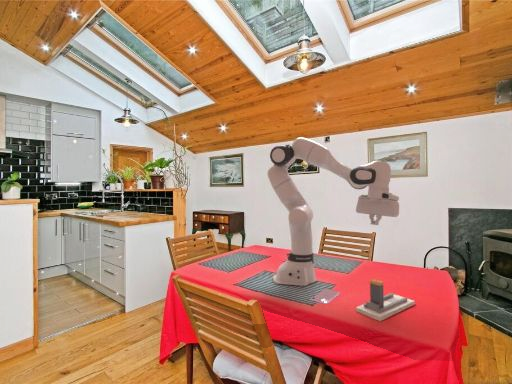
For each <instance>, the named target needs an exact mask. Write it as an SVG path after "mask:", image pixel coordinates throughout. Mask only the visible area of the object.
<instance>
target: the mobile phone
mask: <svg viewBox="0 0 512 384" xmlns="http://www.w3.org/2000/svg"><path fill="white" fill-rule="evenodd" d="M340 294H341V293H340V292H339V291H337V290H332V289H328V288H324V289H322V290H321V291H319V292H318V293H317V294H316V295H314V296H312V297H311V298H310V301H313V302H317V303H320V304H326V305H327V304H328V303H330V302H332V301H333V300H334V299H335V298H336V297H337V296H339V295H340Z"/></svg>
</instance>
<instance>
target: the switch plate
mask: <svg viewBox="0 0 512 384" xmlns="http://www.w3.org/2000/svg"><path fill="white" fill-rule="evenodd" d="M383 296H384V307H382V308H380V305H378V304H376V303H373V302H370V300H368V301H366V302H365V303H362V304H361V305H358V306H356V307H355V312H357V313H359V314H362V315H364V316H366V317H369V318H371V319H373V320H376V321H378V322H382V321H383V320H386V319H388V318H389V317H391V316H394V315H396V314H398V313H400V312H402V311H404V310H406V309H408V308H410V307H412V306H415V303H416V301H415V300H413V299H410V298H408V297H406V296H405V297H404V296H401V295H398V294H394V293H393V292H389V293H387V294H385V295H383Z"/></svg>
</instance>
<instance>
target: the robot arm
mask: <svg viewBox="0 0 512 384" xmlns="http://www.w3.org/2000/svg"><path fill="white" fill-rule="evenodd" d="M269 153H270V154H269V158H270V161H271V162H272V163H273V165H272V166H271V167H270V168H269V169H268V171H267V178H268V181H269V182H270V184H271V187H272V189H273V190H274V192H275V194H276V196H277V197H278V199H279V201H280V203H281V204H282V205H283V206H284V208H286V210H287V211H288V226H289V233H290V242H291V244H290V245H291V248H290V249H291V252H290V251H287V252H286V256H287V260H285V261H284V262H283V263H281V264H280V265H279V267H278V268H277V271H276V273H275V274H273V278H272V281H273V282H274V284H276V285H278V284H279V285H287V286H289V285H291V286H293V285H294V286H302V287H303V286H305V287H307V286H308V285H310V284H313V283H315V282H316V281H317V277H316V274H315V273H316V272H315V268H314V264H315V255H314V252H313V251H314V250H313V249H314V248H313V245H314V243H313V233H312V232H313V231H312V220H313V218H314V212H313V210H312V208H311V206H310V204H308V202H307V200H306V199H305V198H304V197H303V195H302V194H301V192H300V191H299V189H298V187H297V185H296V184H295V182H294V181H293V179H292V177H291V176H290V174H289V171H288V170H290V169H291V168H292V166H293V165H294V164H295V163H296V161H297V159H298V160H302V161H303V162H305V163H308V164H310V165H311V166H314V167H317V168H321V169H324V170H327V171H329V172H331V173H333V174H334V175H337V176H339V177H340V178H341V179H344V180H345V181H346V182H347V183H348V184H349V185H350V187H352V188H353V189H355V190H364V189H365V188H367V187H368V191H367V194H361V195H359V196H358V198H357V203H356V206H355V212H356V213H357V214H364V215H368V218H369V220H370V225H373V226H379V224H380V223H379V222H380V221H381V219H382V217H388V218H389V217H391V218H397V217H398V216H399V214H400V203H399V202H398V201H399V200H400V197H399V196H398V195H395V194H392V193H391V192H389V191H390V188H389V187H390V186H389V185H390V182H391V173H392V170H391V169H392V168H391V165H390V164H389V163H388V162H386V161H384V160H373V161H371V162H370V163H366V164H364V165H357V166H355V167H353V168H351V167H349V166H347V165H345V164H343V163H341V162H340V161H338V160H337V159H336V158H335V156H333V155H332V152H331V151H330V150H329V149H328V148H327V147H326V146H324V145H323V144H321V143H319V142H316V141H315V140H312V139H309V138H306V137H302V136H300V137H297V138H296V139H295V140H293V142H292V144H279V145H276V146H274V147H273V148H272V149H271V150H270V152H269ZM375 217H376V219H374V218H375Z"/></svg>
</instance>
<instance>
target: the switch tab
mask: <svg viewBox="0 0 512 384" xmlns="http://www.w3.org/2000/svg"><path fill="white" fill-rule="evenodd" d="M369 295H370V298H369V299H370V300H369V301H370V302H373V303H376V304H378V305H380V308H382V307H384V296H385V295H384V281H381V280H379V279H374V278H373V279H370V280H369Z"/></svg>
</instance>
